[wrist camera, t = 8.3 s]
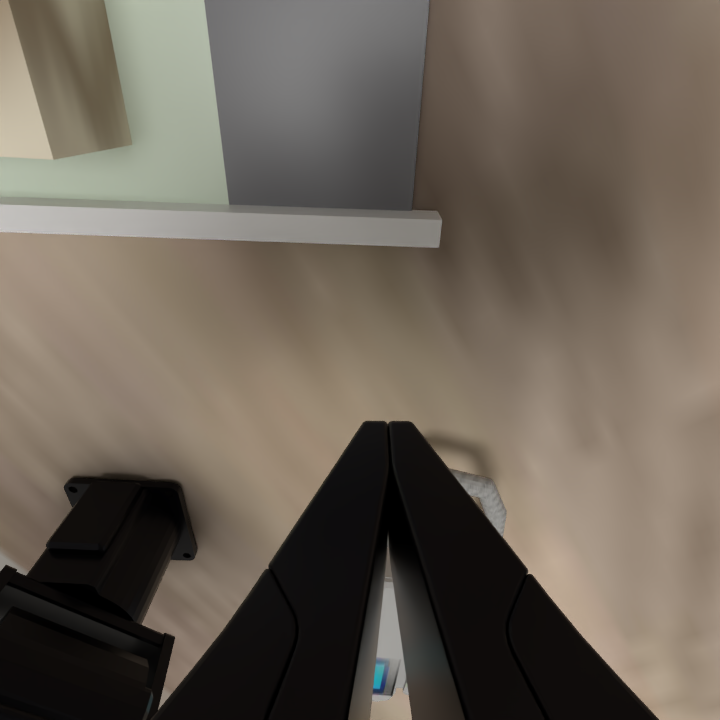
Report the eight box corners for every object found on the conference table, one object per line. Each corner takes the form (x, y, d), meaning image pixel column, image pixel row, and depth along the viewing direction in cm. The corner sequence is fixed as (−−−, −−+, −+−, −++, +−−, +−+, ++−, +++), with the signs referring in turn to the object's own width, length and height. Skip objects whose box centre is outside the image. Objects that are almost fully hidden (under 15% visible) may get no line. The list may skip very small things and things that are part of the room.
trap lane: (434, 236, 17) (439, 247, 16) (-208, 213, 18) (-253, 222, 16) (481, -176, 12) (494, -209, 10) (-462, -196, 12) (-562, -231, 11)
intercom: (566, 503, 19) (457, 738, 32) (535, 436, 23) (449, 671, 36) (262, 478, 19) (276, 724, 32) (281, 416, 23) (286, 659, 36)
